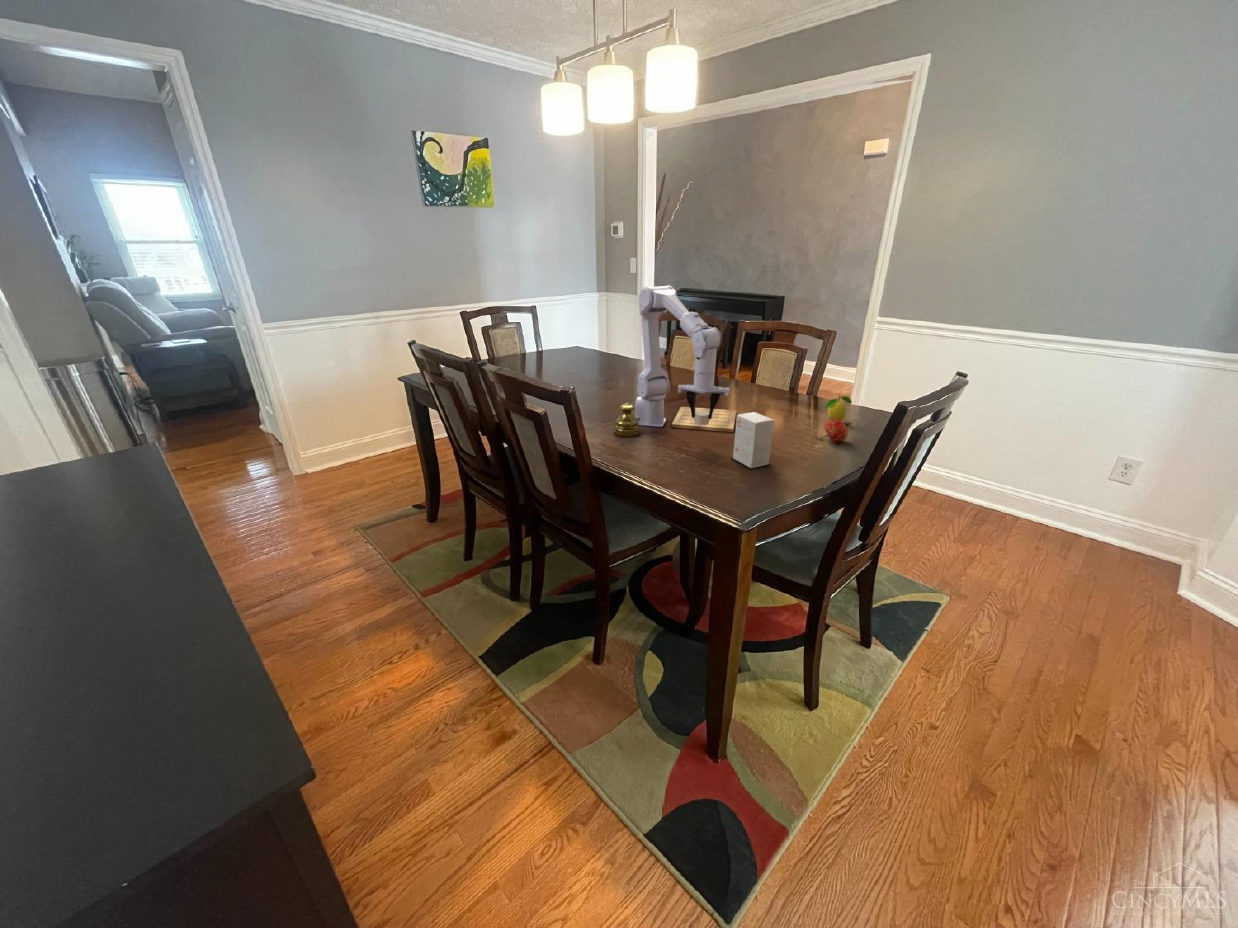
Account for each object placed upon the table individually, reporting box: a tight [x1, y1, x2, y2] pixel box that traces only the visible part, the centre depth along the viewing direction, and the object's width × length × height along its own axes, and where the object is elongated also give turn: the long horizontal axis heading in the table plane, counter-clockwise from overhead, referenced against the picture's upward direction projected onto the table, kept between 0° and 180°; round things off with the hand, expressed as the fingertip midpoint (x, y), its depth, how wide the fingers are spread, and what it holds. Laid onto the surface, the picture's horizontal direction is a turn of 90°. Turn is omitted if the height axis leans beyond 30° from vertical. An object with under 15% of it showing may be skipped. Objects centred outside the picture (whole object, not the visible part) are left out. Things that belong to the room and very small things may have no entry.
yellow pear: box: [824, 394, 853, 421], centre depth 164 cm, size 7×6×10 cm
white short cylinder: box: [694, 411, 709, 425], centre depth 145 cm, size 4×4×3 cm
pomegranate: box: [819, 419, 852, 444], centre depth 149 cm, size 7×7×10 cm
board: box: [671, 406, 737, 433], centre depth 169 cm, size 20×20×1 cm
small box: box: [732, 411, 775, 469], centre depth 134 cm, size 8×6×13 cm
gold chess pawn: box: [615, 402, 640, 438], centre depth 156 cm, size 7×7×10 cm
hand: (701, 417), depth 145 cm, fingers closed on white short cylinder, 4 cm apart
